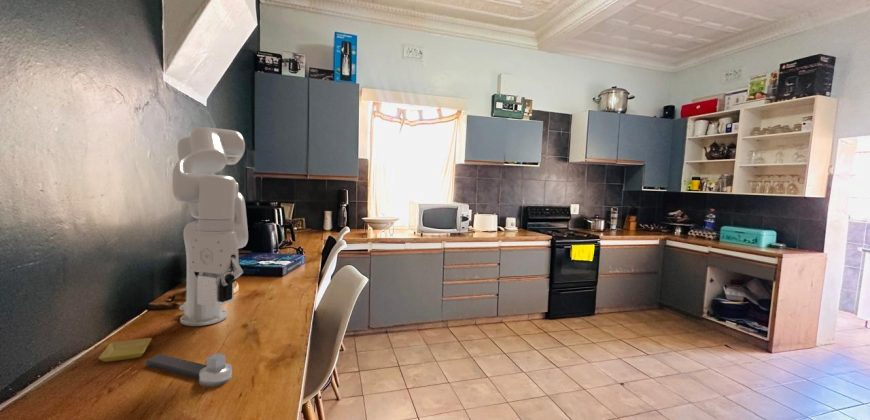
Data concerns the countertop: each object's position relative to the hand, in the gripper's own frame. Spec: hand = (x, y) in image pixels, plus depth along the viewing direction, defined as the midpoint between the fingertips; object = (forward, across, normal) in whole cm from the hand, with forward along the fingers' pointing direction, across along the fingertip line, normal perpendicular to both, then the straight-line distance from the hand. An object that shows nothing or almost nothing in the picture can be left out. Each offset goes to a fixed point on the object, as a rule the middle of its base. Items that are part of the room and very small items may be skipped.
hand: (215, 298), depth 88 cm
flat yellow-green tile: (+16, -23, -5) cm, 28 cm away
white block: (+1, 0, 0) cm, 1 cm away
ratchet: (+16, -2, -6) cm, 17 cm away
